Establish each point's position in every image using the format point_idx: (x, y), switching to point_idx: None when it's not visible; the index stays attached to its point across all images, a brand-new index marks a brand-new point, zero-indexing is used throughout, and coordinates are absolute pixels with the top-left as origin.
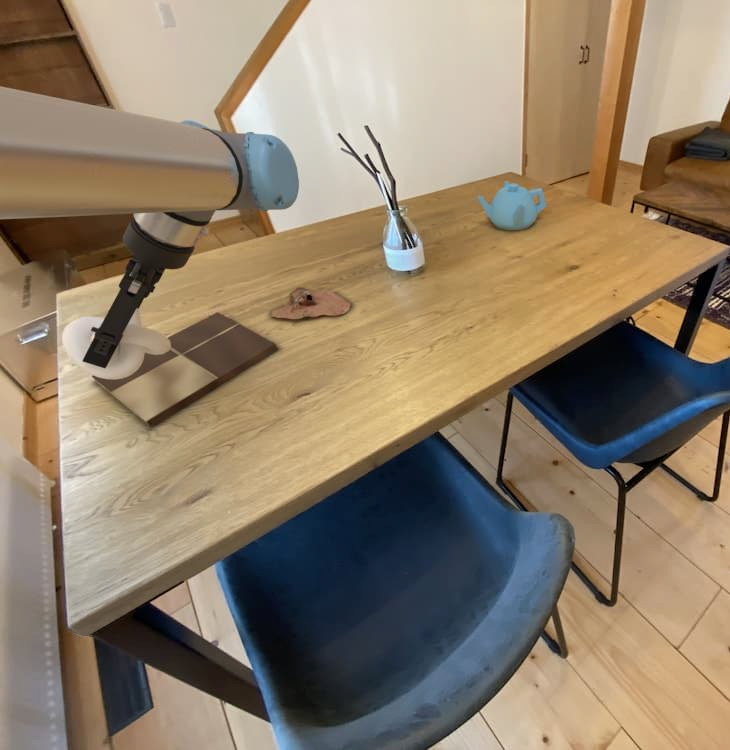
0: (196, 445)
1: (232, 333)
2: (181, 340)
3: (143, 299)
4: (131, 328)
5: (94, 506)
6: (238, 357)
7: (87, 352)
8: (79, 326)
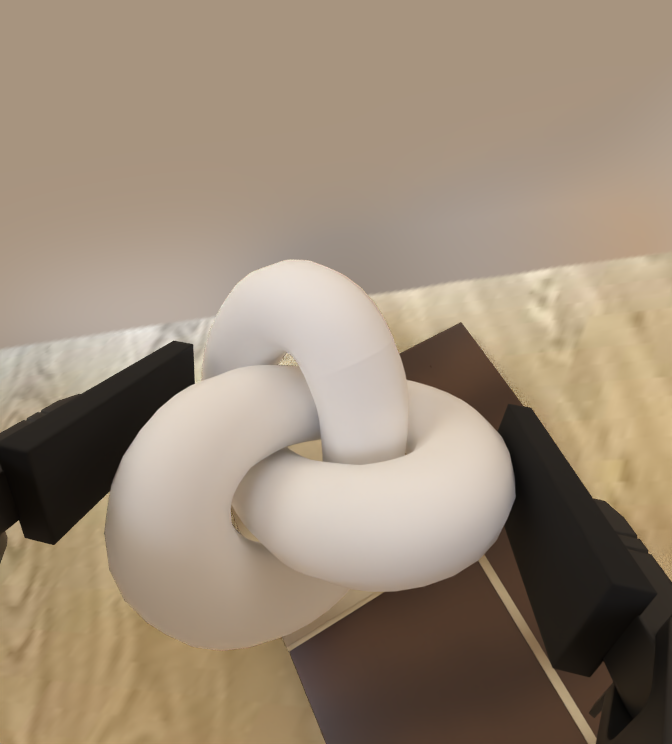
0: (84, 557)
1: (543, 728)
2: None
3: (536, 616)
4: (126, 581)
5: (58, 370)
6: (372, 738)
7: (137, 363)
8: (283, 318)
